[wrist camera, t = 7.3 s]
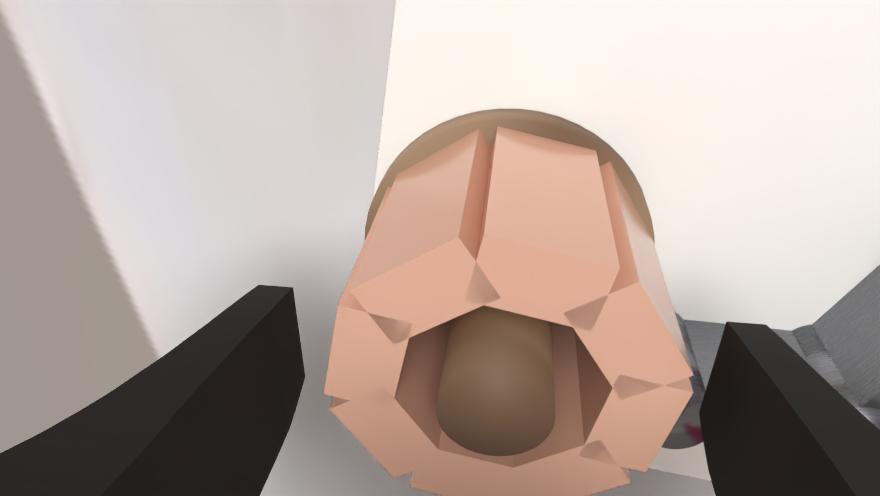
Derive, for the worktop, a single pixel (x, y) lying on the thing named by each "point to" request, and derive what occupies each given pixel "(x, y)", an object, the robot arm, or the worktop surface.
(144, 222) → the worktop surface
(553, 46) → the board
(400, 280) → the ring
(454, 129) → the peg
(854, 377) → the grey mechanical part
